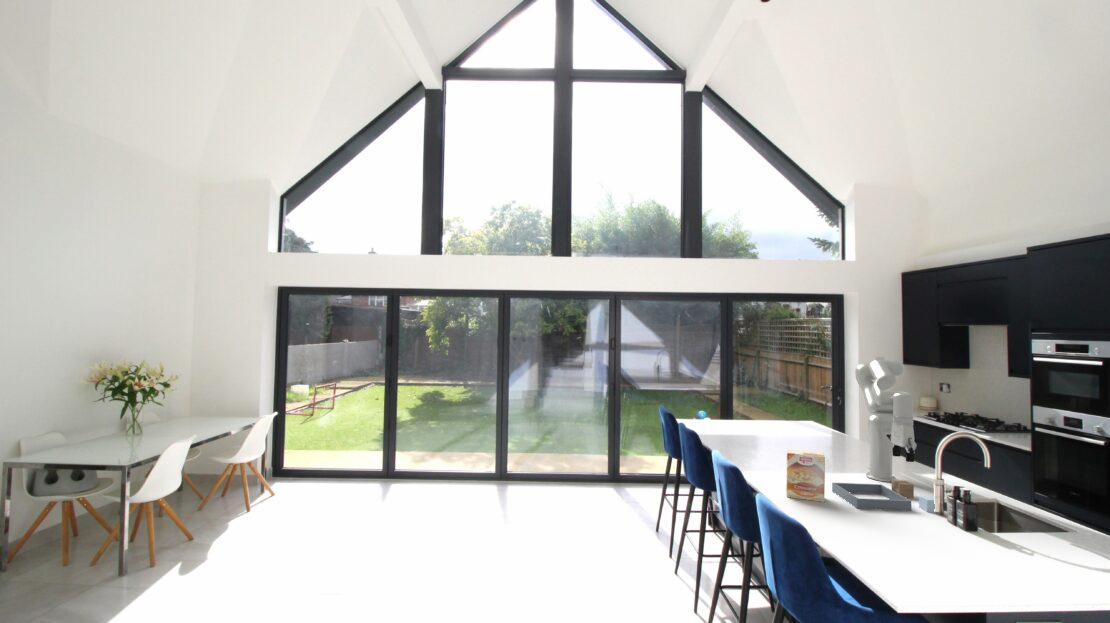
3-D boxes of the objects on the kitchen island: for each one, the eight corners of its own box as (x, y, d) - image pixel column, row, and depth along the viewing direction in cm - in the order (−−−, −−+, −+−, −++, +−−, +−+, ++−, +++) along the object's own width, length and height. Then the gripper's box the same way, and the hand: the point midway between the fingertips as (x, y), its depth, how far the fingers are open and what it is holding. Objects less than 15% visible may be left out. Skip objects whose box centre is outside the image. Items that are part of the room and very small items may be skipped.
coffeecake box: (786, 497, 225) (786, 452, 225) (785, 492, 231) (786, 449, 232) (824, 502, 219) (825, 456, 219) (823, 497, 226) (823, 452, 226)
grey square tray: (832, 491, 234) (832, 482, 234) (881, 493, 233) (881, 484, 233) (857, 508, 213) (857, 498, 213) (911, 510, 211) (911, 501, 211)
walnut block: (891, 493, 234) (891, 479, 234) (905, 493, 233) (905, 480, 233) (899, 497, 228) (899, 484, 228) (913, 498, 227) (913, 484, 227)
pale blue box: (919, 507, 215) (919, 495, 215) (931, 508, 215) (931, 496, 215) (926, 512, 210) (927, 500, 210) (939, 512, 210) (939, 500, 210)
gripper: (883, 417, 240) (883, 454, 239) (906, 423, 223) (906, 463, 222) (900, 417, 239) (900, 454, 239) (924, 424, 222) (924, 464, 222)
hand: (903, 458), depth 230 cm, fingers open, 9 cm apart
